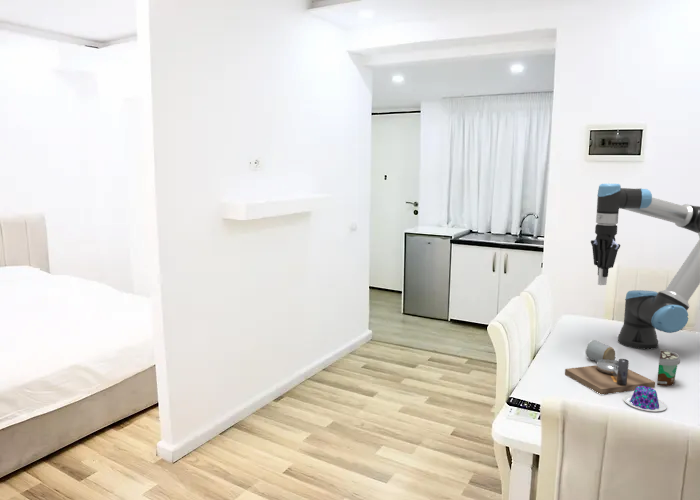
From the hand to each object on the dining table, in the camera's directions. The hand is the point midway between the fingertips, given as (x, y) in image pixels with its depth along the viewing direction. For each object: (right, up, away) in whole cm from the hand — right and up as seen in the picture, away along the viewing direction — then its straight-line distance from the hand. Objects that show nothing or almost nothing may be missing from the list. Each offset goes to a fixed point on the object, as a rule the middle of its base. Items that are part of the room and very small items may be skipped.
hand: (602, 284), depth 200 cm
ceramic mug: (0, -30, 0) cm, 30 cm away
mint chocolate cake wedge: (+13, -33, -20) cm, 41 cm away
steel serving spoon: (-5, -30, -19) cm, 36 cm away
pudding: (-4, -36, -36) cm, 51 cm away
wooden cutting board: (-7, -33, -19) cm, 38 cm away
